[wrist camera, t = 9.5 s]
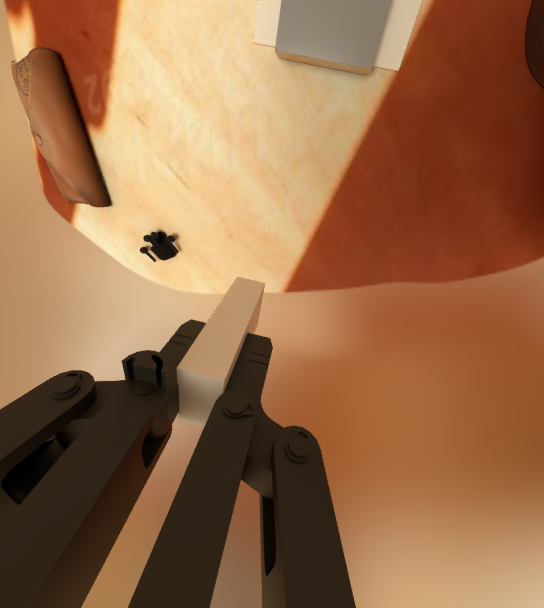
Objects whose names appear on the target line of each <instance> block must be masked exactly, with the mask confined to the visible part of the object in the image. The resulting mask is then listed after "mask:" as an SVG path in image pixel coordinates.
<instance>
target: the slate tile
mask: <svg viewBox="0 0 544 608" xmlns="http://www.w3.org/2000/svg"><path fill="white" fill-rule="evenodd" d="M391 2H392V0H281V7H280V15H279V22H278V30H277V37H276V45H275V52H276V54H277V56H278V58H283V59H288V60H294V61H299V62H304V63H309V64H314V65H319V66H324V67H329V68H334V69H339V70H345V71H350V72H355V73H360V74H365V75H369V73H370V71H371V70H372V67H373V64H374V60H375V57H376V54H377V50H378V47H379V43H380V40H381V36H382V33H383V30H384V26H385V23H386V19H387V16H388V13H389V9H390V6H391Z"/></svg>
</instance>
